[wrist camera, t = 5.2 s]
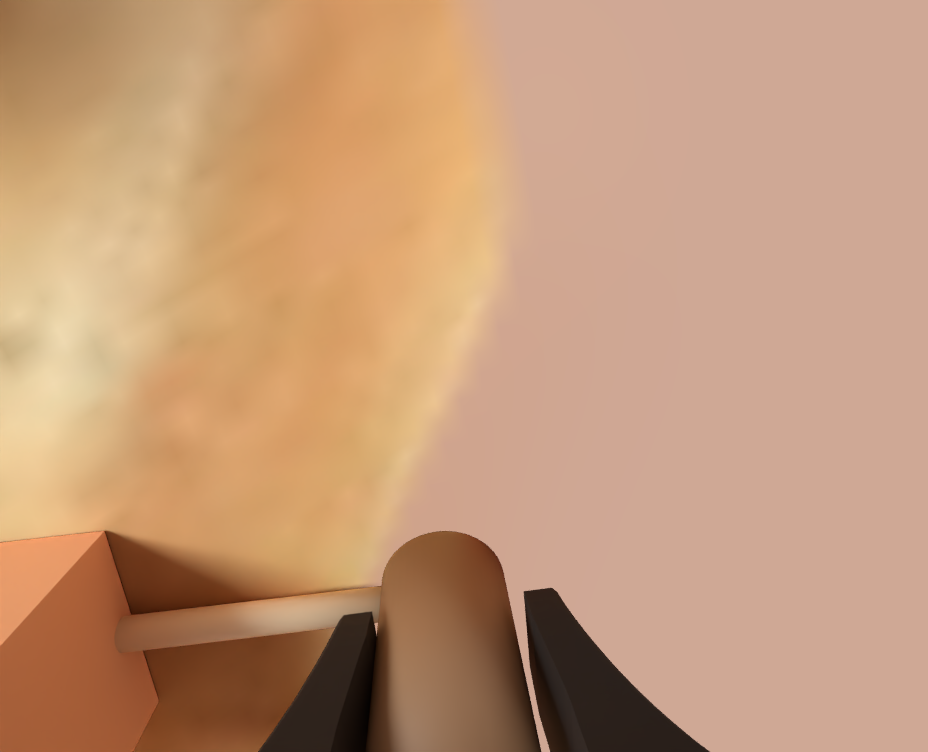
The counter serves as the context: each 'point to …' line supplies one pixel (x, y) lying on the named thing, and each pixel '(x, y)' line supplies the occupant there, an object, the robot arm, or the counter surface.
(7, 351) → the counter surface
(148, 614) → the tethered block
